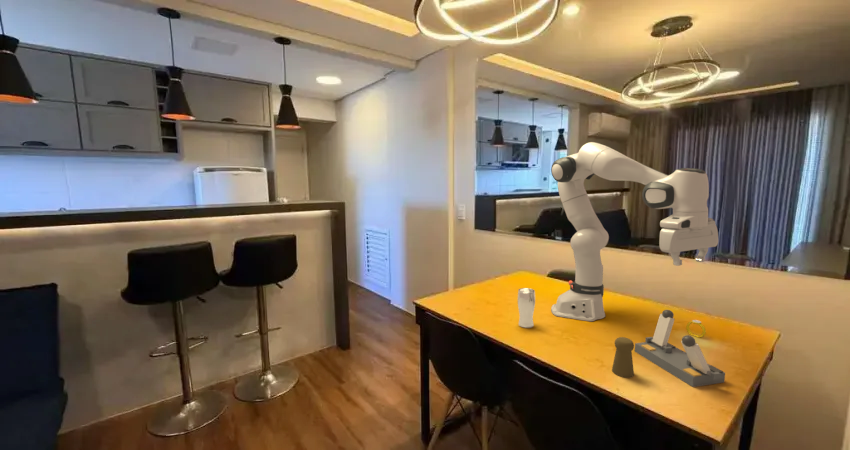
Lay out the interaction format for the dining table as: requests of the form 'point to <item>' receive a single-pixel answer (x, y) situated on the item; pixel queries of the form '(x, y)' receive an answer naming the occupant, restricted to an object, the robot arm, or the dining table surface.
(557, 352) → the dining table surface
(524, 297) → the beer glass
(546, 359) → the dining table surface
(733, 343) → the dining table surface
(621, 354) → the brown pawn
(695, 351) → the lever
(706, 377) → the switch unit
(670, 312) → the lever
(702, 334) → the watch
